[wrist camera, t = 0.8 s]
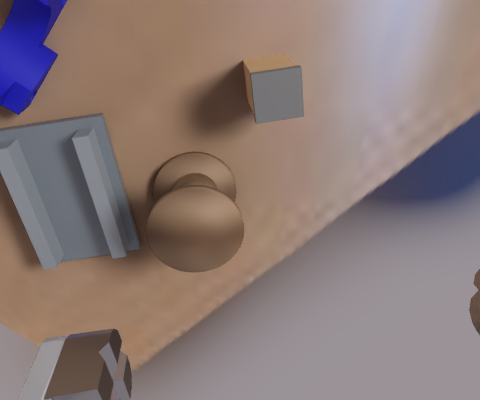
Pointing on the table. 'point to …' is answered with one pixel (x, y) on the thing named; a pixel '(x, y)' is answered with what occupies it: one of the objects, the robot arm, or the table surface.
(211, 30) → the table surface
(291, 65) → the grey and tan block
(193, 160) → the door knob
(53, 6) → the blue curved block
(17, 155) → the grey channel bracket
